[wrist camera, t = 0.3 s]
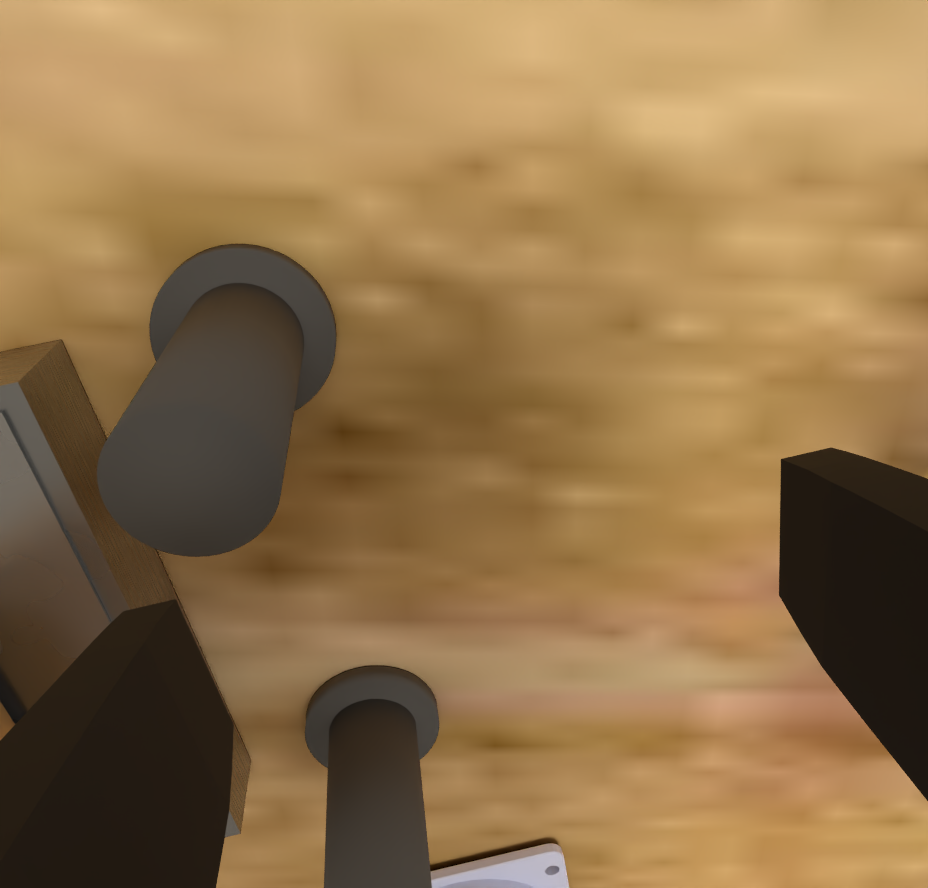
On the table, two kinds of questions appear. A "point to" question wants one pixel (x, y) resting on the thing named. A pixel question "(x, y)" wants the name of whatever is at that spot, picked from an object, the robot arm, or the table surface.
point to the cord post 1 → (218, 401)
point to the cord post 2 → (374, 775)
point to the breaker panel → (65, 539)
